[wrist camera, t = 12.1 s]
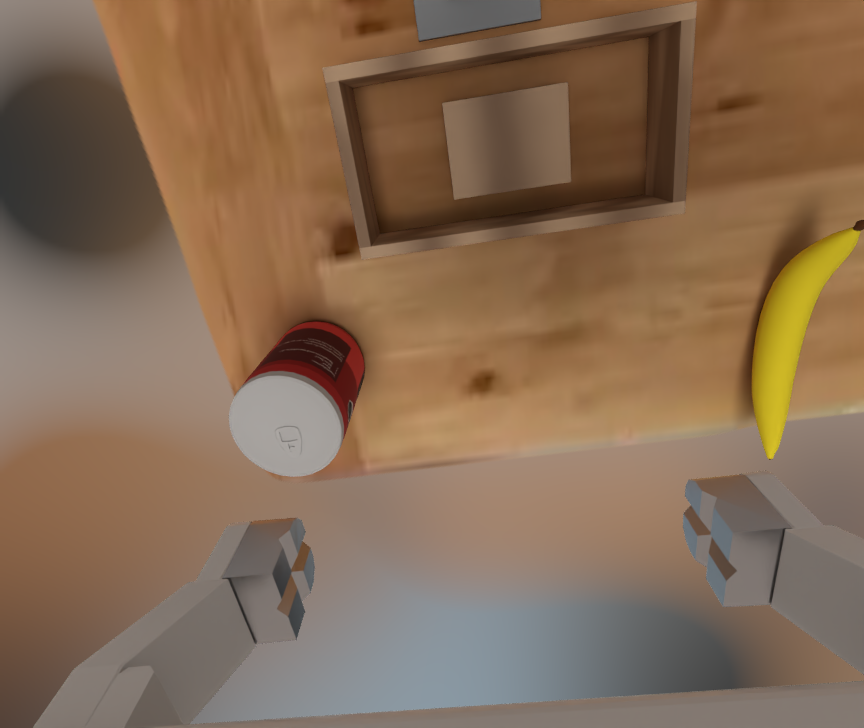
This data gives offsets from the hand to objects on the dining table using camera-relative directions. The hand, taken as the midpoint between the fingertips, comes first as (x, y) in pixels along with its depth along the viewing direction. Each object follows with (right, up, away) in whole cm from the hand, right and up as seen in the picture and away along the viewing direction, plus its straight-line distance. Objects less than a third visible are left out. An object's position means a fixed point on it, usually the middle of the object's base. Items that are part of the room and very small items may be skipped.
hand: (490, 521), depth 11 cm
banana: (+26, +6, +31) cm, 41 cm away
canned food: (-11, +4, +33) cm, 35 cm away
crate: (+4, +19, +25) cm, 32 cm away
